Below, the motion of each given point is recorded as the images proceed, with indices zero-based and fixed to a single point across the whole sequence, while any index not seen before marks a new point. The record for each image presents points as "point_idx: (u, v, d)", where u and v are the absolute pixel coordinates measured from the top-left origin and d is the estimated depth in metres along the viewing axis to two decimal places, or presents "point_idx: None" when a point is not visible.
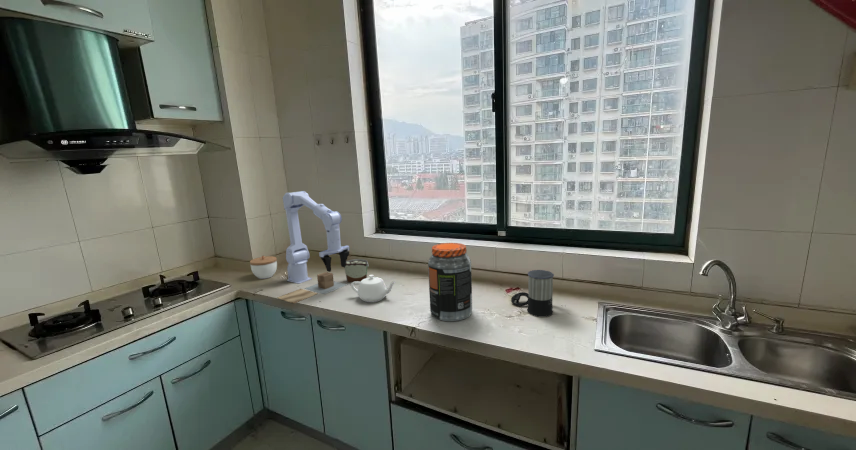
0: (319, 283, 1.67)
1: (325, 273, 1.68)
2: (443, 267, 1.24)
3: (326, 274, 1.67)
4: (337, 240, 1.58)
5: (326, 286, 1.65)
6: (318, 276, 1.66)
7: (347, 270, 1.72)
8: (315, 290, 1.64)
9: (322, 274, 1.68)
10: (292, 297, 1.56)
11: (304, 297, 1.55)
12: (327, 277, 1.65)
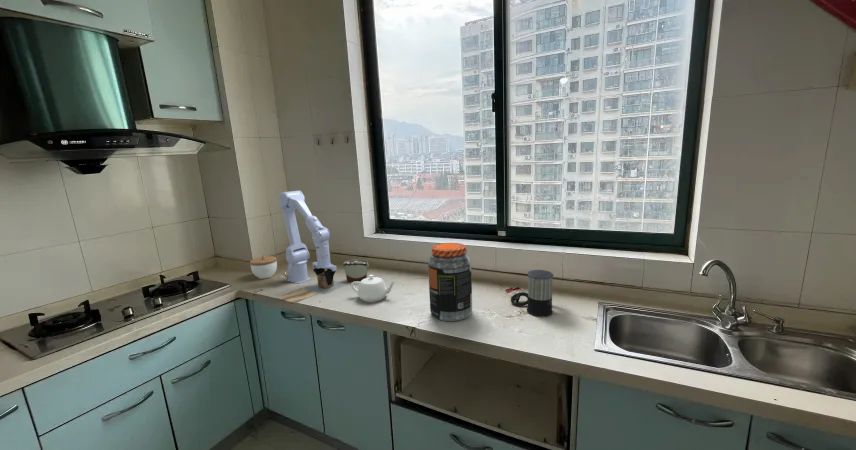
0: (319, 283, 1.67)
1: None
2: (443, 267, 1.24)
3: None
4: (318, 256, 1.63)
5: (326, 286, 1.65)
6: (318, 276, 1.66)
7: (347, 270, 1.72)
8: (315, 290, 1.64)
9: (322, 274, 1.68)
10: (292, 297, 1.56)
11: (304, 297, 1.55)
12: None
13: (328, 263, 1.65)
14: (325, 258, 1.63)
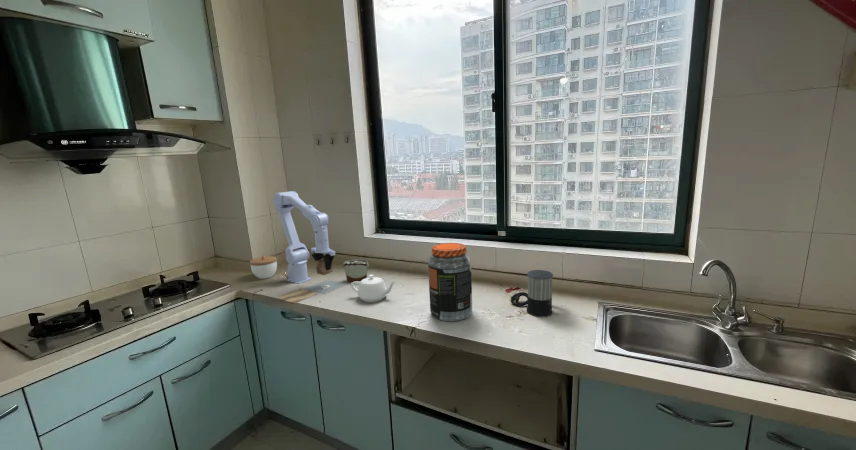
0: (318, 269, 1.65)
1: None
2: (443, 267, 1.24)
3: None
4: (316, 241, 1.62)
5: (325, 272, 1.64)
6: (317, 262, 1.65)
7: (347, 270, 1.72)
8: (315, 290, 1.64)
9: (321, 260, 1.66)
10: (292, 297, 1.56)
11: (304, 297, 1.55)
12: None
13: (327, 248, 1.64)
14: (324, 243, 1.62)
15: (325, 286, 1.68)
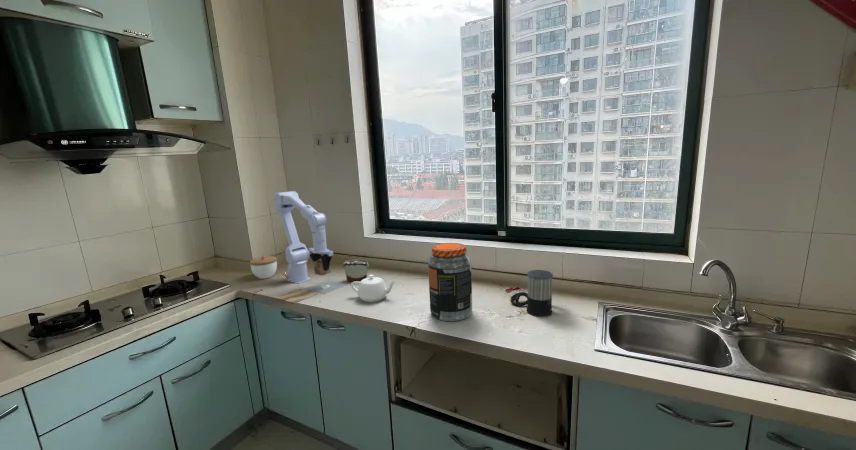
0: (316, 269, 1.65)
1: None
2: (443, 267, 1.24)
3: None
4: (314, 241, 1.61)
5: (323, 272, 1.63)
6: (314, 262, 1.64)
7: (347, 270, 1.72)
8: (315, 290, 1.64)
9: (319, 260, 1.66)
10: (292, 297, 1.56)
11: (304, 297, 1.55)
12: None
13: (324, 248, 1.63)
14: (321, 243, 1.61)
15: (325, 286, 1.68)
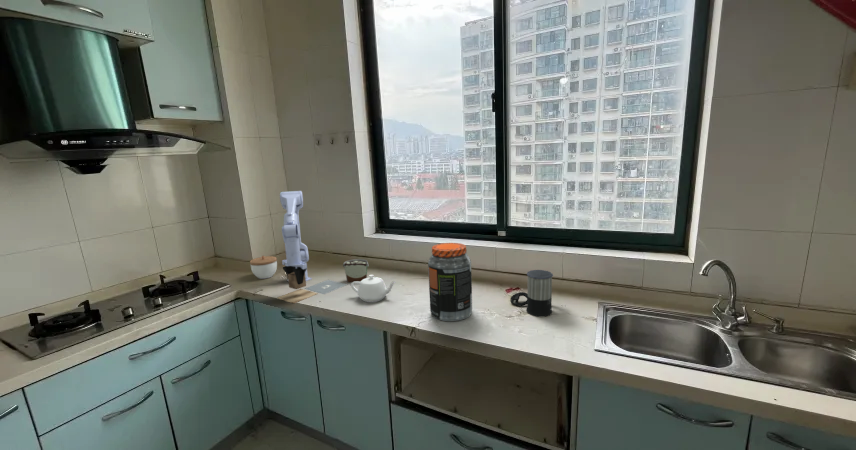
0: (290, 283, 1.56)
1: None
2: (443, 267, 1.24)
3: None
4: (287, 253, 1.52)
5: (297, 286, 1.55)
6: (289, 275, 1.56)
7: (347, 270, 1.72)
8: (315, 290, 1.64)
9: (293, 273, 1.57)
10: (292, 297, 1.56)
11: (304, 297, 1.55)
12: None
13: (298, 261, 1.54)
14: (295, 255, 1.52)
15: (325, 286, 1.68)
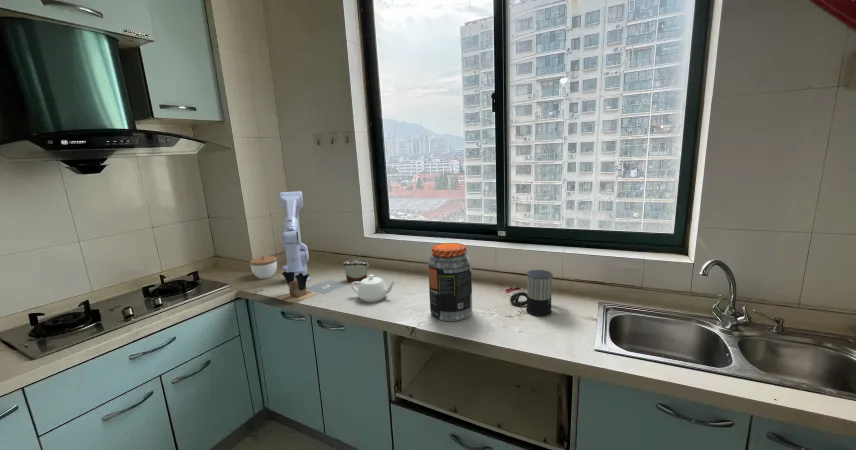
0: (291, 291, 1.57)
1: (297, 281, 1.58)
2: (443, 267, 1.24)
3: None
4: (287, 260, 1.53)
5: (298, 295, 1.55)
6: (290, 284, 1.56)
7: (347, 270, 1.72)
8: (315, 290, 1.64)
9: (294, 281, 1.58)
10: (292, 297, 1.56)
11: (304, 297, 1.55)
12: None
13: (299, 267, 1.54)
14: (295, 261, 1.53)
15: (325, 286, 1.68)
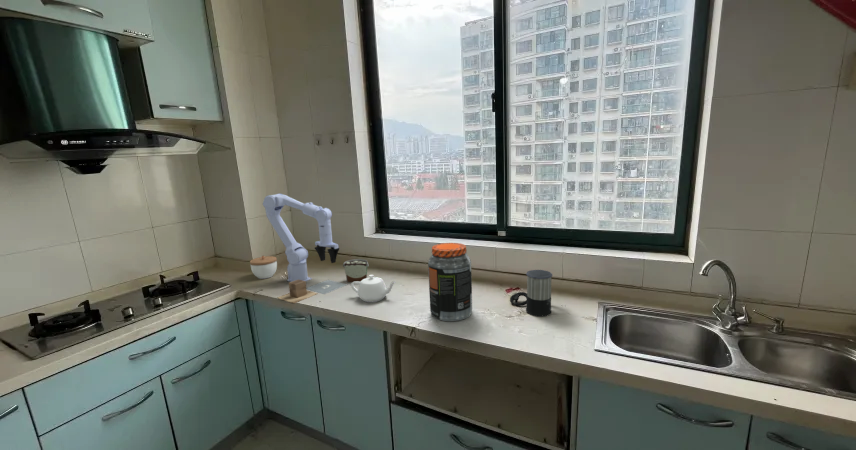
0: (291, 291, 1.57)
1: (297, 281, 1.58)
2: (443, 267, 1.24)
3: (298, 282, 1.57)
4: (320, 235, 1.70)
5: (298, 295, 1.55)
6: (290, 284, 1.56)
7: (347, 270, 1.72)
8: (315, 290, 1.64)
9: (294, 281, 1.58)
10: (292, 297, 1.56)
11: (304, 297, 1.55)
12: (299, 285, 1.55)
13: (330, 241, 1.71)
14: (327, 236, 1.70)
15: (325, 286, 1.68)
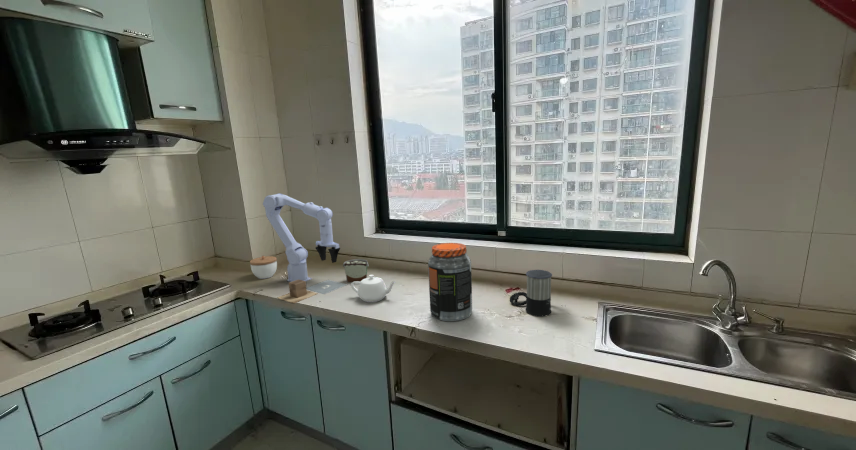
0: (291, 291, 1.57)
1: (297, 281, 1.58)
2: (443, 267, 1.24)
3: (298, 282, 1.57)
4: (321, 235, 1.70)
5: (298, 295, 1.55)
6: (290, 284, 1.56)
7: (347, 270, 1.72)
8: (315, 290, 1.64)
9: (294, 281, 1.58)
10: (292, 297, 1.56)
11: (304, 297, 1.55)
12: (299, 285, 1.55)
13: (331, 241, 1.72)
14: (328, 236, 1.70)
15: (325, 286, 1.68)
